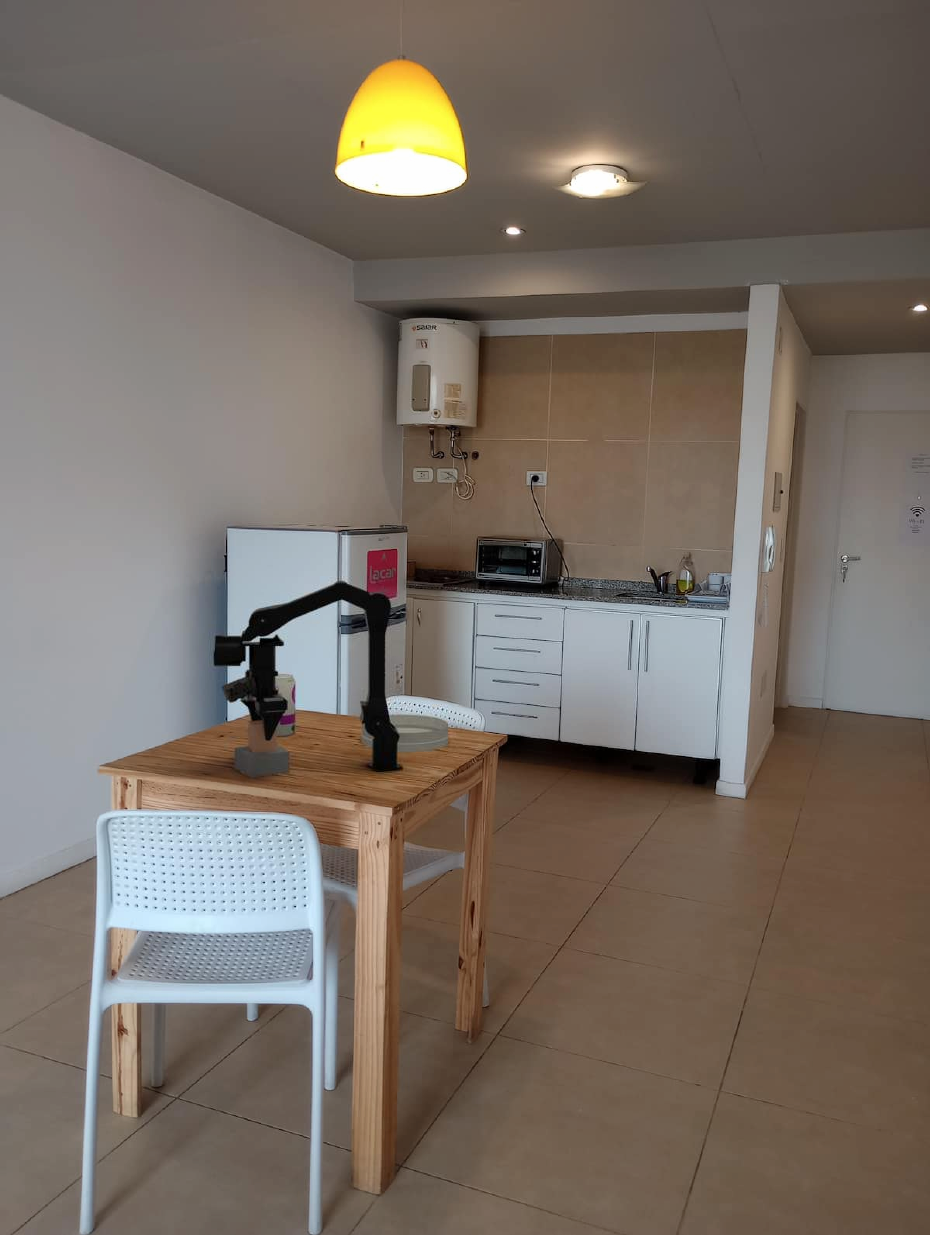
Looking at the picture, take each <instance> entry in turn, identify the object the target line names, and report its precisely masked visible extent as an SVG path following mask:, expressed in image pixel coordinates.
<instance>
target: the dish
mask: <svg viewBox="0 0 930 1235" xmlns="http://www.w3.org/2000/svg"><path fill="white" fill-rule="evenodd" d="M389 717H390V722H391V723H392V724H393V725H394V726H395V727H396V729H397V731H398V733H399V735H400V738H399V741H398V753H415V752H416V753H417V752H418V753H419V752H428V751H434V750H439V749H442V748H445V747H446V746H448V745H449V740H450V739H449V723H448V722H447V721H446V720H444V719H442V718H440V717H439V718H438V717H434V716H428V715H421V714H389ZM361 730H362V731H361V733H360V734H361V735H360V737H361V738H360V739H361V740H360V742H361V741H362V742H361V744H362V743H363V744H364V745H363V744H362V745H363V746H365V747H367V746H368V748H370V747H371V748H370V749H372V740H373V738H374V737H373V736H371V735H370V734H369V733H367V731H366V729H365V726H364V724H362V723H361Z"/></svg>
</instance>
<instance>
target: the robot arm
mask: <svg viewBox="0 0 930 1235" xmlns="http://www.w3.org/2000/svg"><path fill="white" fill-rule="evenodd" d="M339 601H344V602H346V603H349V604H351V605H353V606H356V607H358V608H359V609H363V613H364V619H365V623H366V628H367V639H368V640H367V643H368V644H367V649H368V650H367V651H368V652H367V654H368V655H367V658H368V660H367V662H368V664H367V665H368V666H367V667H368V668H367V671H368V672H367V677H368V678H367V695H366V701H363V700H360V701H359V703H360V709H361V712H360V716H359V719H360V722H361V725H362V724H364V726H365V729H366V731H367V733H369V734H370V735H371V736H373V737H374V738H373V740H372V748H371V749H372V750H371V752H372V754H371V762H366V766H367V767H369V768H370V769H372V770H373V771H375V772H384V771H386V772H387V771H395V770H403V769H404V766H403V765H401V764H400V763H398V753H399V752H398V741H399V738H400V735H399V733H398V731H397V729H396V727H395V726H394V725H393V724H392V723H391V722H390V717H389V715H390V712H389V707H388V703H387V698H386V635H387V634H386V633H387V630H388V625H389V621H390V615H391V610H392V605H391V604H392V603H391V602H392V601H391V600H390V599H389V597H388V596H387V595H386V594H384V593H383V592H381V591H379V590H375V591H370V592H369V591H368V590H364V589H362V588H360V587H358V586H355V585H352V584H349V583H348V582H346V581H345V580H338V581H335V582H334V583H332V584H331V585H328V586H325V587H323V588H321V589H318V590H316V591H313V592H311V593H308V594H306V595H303V596H301V597H298V598H296V599H293V600H291V601H289V602H286V603H285V602H284V603H281V604H274V605H268V606H264V607H259V608H257V609H255V610H253V611H252V613H251V614H250V617H249V619H248V626H247V627H246V628H245V630H242V633H241V635H224V634H216V635H215V636H214V650H213V666H214V667H241V665H242V664H243V662H246V661H247V647H248V669H246V671H245V672H244V677H241V678H238V679H236V680H233V681H231V682H228V683H226V684H224V685H222V686H221V689H222V692H223V694H224V696H225V700H226V701H228V702H229V703H231V704H232V703H235V702H237V701H238V700H239V701H240V702H241V703H242V704H243V705H245V706H246V708H247V710H248V712H249V714H248V715H249V717H250V721H260V720H262V723H263V729H264V735H265V740H266V741H270V740H271V738H272V736H273V734H274V732H275V730H276V728H277V726H278V724H279V722H280V720H281V718H282V716H283V714H284V713H285V711H286V710H288V701H287V700H286V699H285V698H284V697H282V696H281V695H278V690H277V689H275V684H276V676H278V674H279V671H278V670H277V669H276V668H277V667H276V662H277V661H276V652H277V650H276V647H284V646H285V641H284V640H282V639H281V638H280V636H279V634H275V635H274V636H273V637H267V636H270V635H271V634H273V633H274V632H276V631H278V630H279V629H281V628H282V627H284V626H285V625H287V624H288V623H289V622H291V621H293V620H294V619H297V618H300V617H302V616H304V615H307V614H309V613H312V612H314V611H316V610H319V609H321V608H322V609H323V608H324V607H327V606H329V605H331V604H334V603H337V602H339ZM258 637H260V638H259V641H253V640H255V639H257V638H258Z"/></svg>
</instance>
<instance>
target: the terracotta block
mask: <svg viewBox="0 0 930 1235" xmlns="http://www.w3.org/2000/svg"><path fill="white" fill-rule="evenodd" d="M247 742H248V745H247V746H248V748H249V749H250V750H251V751H252V752H253V753H260V752H273V751H276V745H277V736H276V730H275V732H274V734H273V736H272V738H271V740H270V741H266V740H265V735H264V729H263V723H262V720H260V721H251V720H249V721H248V741H247Z"/></svg>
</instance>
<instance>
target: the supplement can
mask: <svg viewBox="0 0 930 1235" xmlns="http://www.w3.org/2000/svg"><path fill="white" fill-rule="evenodd" d="M296 685H297V684H296V680H295V678H294V674H286V673H278V676H276V684H275V689H277V690H278V695H281V696H282V697H284V698H285V699H286V700H287V701H288V710H286V711H285V713H284V714H283V716H282V718H281V720H280V722H279V724H278V726H277V728H276V737H287V736H291V735H293V734H294V733H295V732H296Z"/></svg>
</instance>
